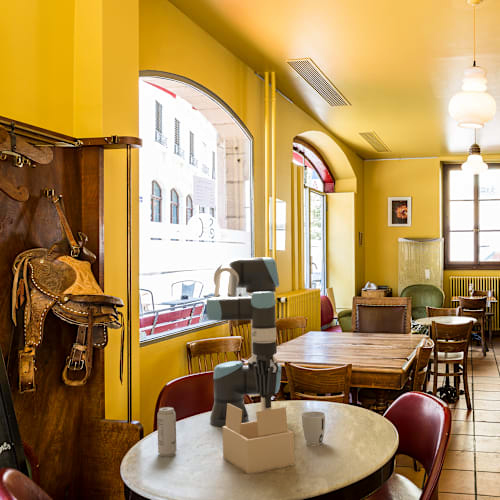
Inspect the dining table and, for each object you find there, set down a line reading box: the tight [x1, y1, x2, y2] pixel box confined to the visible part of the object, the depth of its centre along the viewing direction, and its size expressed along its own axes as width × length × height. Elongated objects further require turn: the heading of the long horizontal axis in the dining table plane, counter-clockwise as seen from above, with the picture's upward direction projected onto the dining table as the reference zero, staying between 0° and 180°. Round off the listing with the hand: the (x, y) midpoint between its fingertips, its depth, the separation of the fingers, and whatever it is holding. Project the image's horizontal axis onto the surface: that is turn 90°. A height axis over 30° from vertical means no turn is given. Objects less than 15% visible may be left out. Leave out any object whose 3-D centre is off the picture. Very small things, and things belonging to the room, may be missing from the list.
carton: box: [221, 420, 295, 475], centre depth 190 cm, size 19×17×10 cm
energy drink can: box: [156, 406, 177, 458], centre depth 198 cm, size 6×6×15 cm
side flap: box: [225, 403, 242, 433], centre depth 188 cm, size 7×10×1 cm
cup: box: [301, 410, 326, 446], centre depth 206 cm, size 8×8×10 cm
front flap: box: [255, 406, 289, 436], centre depth 183 cm, size 7×10×1 cm
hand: (266, 417), depth 186 cm, fingers closed
